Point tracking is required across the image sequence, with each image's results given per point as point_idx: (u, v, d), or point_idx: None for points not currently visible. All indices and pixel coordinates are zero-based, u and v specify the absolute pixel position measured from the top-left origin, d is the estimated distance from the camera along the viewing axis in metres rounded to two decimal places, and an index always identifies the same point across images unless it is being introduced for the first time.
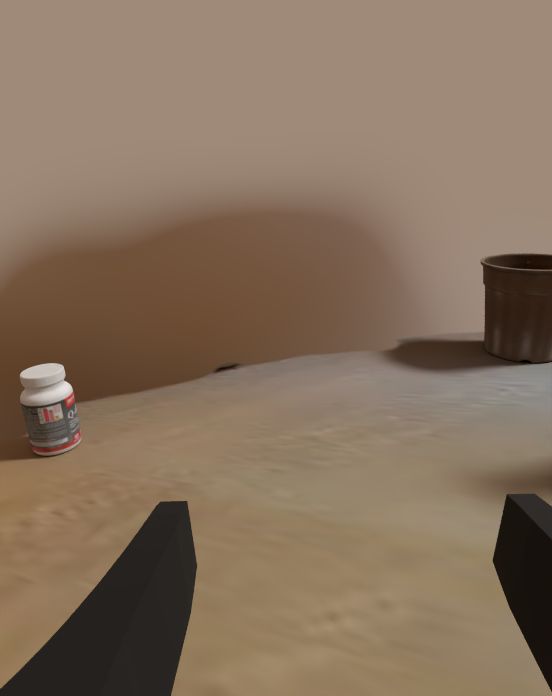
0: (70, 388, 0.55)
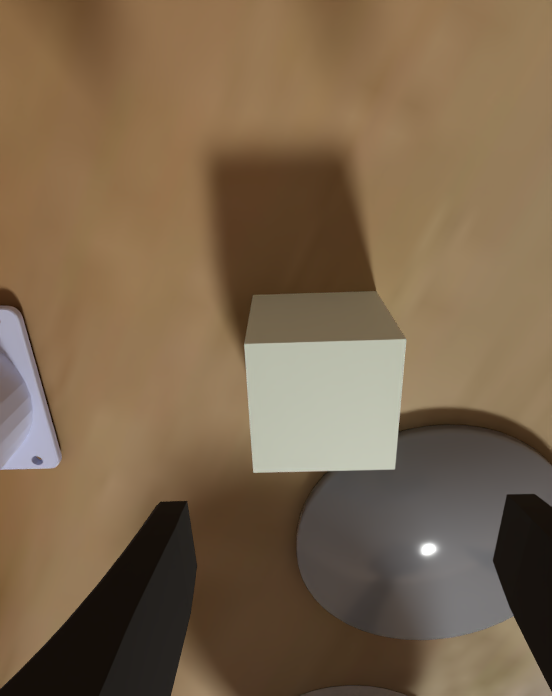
0: None
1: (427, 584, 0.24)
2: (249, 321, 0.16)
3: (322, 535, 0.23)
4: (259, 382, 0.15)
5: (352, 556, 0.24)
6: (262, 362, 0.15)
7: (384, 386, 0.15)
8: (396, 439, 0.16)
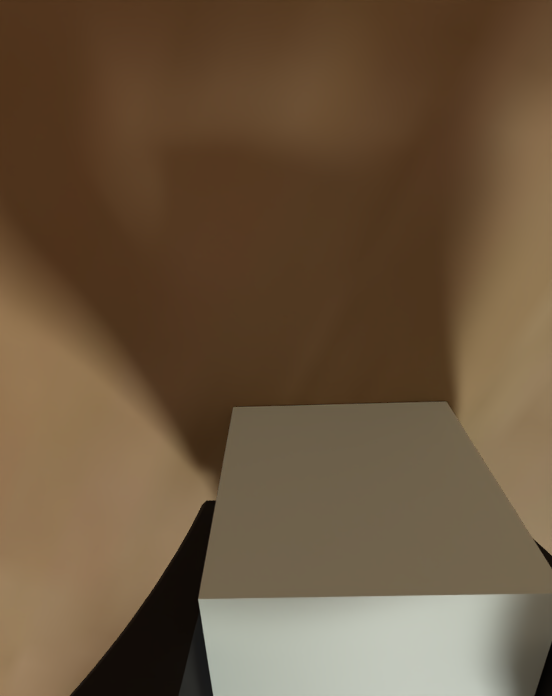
0: None
1: None
2: (218, 498, 0.08)
3: None
4: (234, 661, 0.07)
5: None
6: (241, 630, 0.07)
7: (502, 670, 0.07)
8: None
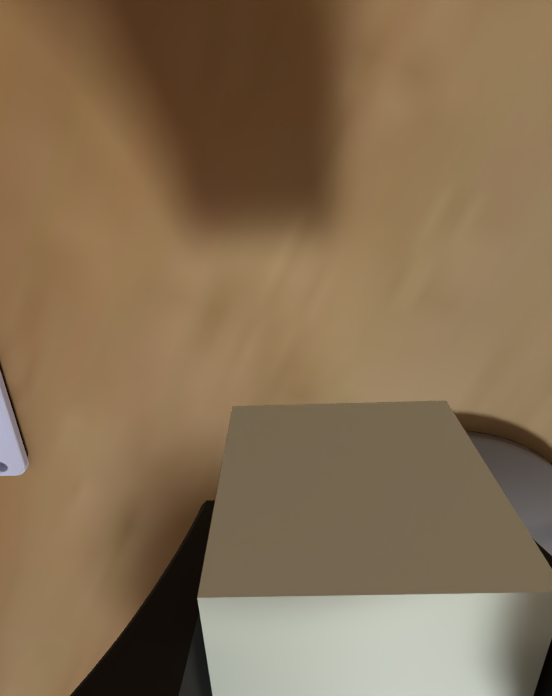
0: None
1: None
2: (218, 497, 0.08)
3: None
4: (233, 660, 0.07)
5: None
6: (240, 628, 0.07)
7: (502, 669, 0.07)
8: None
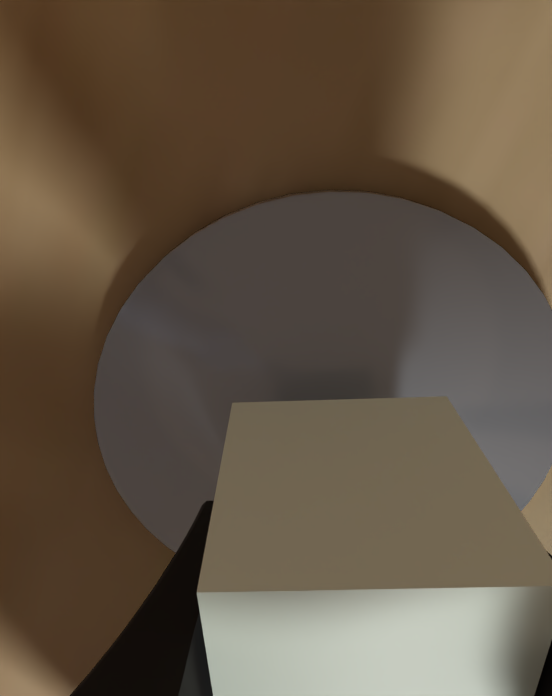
0: None
1: None
2: (217, 493, 0.08)
3: (135, 410, 0.14)
4: (233, 655, 0.07)
5: (192, 449, 0.14)
6: (240, 624, 0.07)
7: (503, 664, 0.07)
8: None
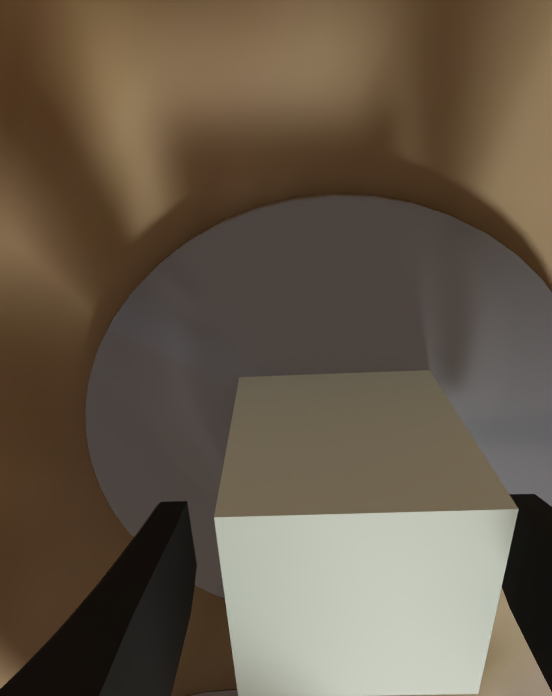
0: None
1: None
2: (228, 446, 0.09)
3: (128, 424, 0.13)
4: (244, 575, 0.08)
5: (188, 465, 0.13)
6: (249, 545, 0.08)
7: (469, 581, 0.08)
8: (485, 655, 0.09)
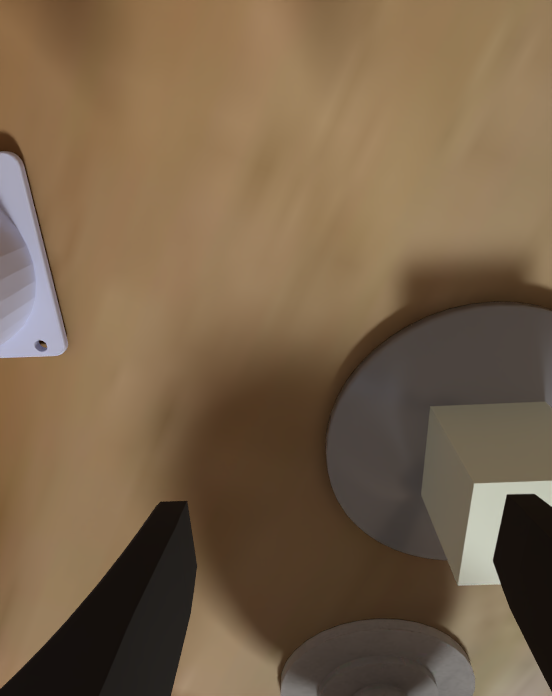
0: None
1: None
2: (455, 448, 0.18)
3: (356, 435, 0.21)
4: (480, 513, 0.16)
5: (387, 460, 0.22)
6: (487, 497, 0.16)
7: None
8: None
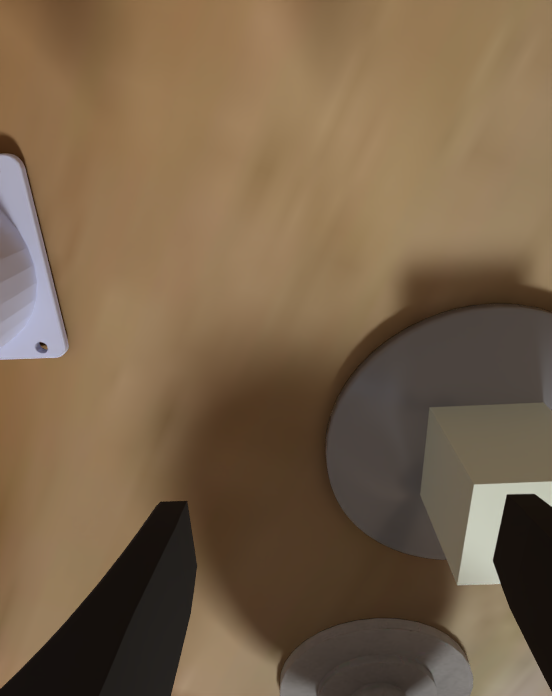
0: None
1: None
2: (455, 449, 0.18)
3: (355, 435, 0.21)
4: (480, 514, 0.16)
5: (387, 460, 0.22)
6: (487, 498, 0.16)
7: None
8: None
